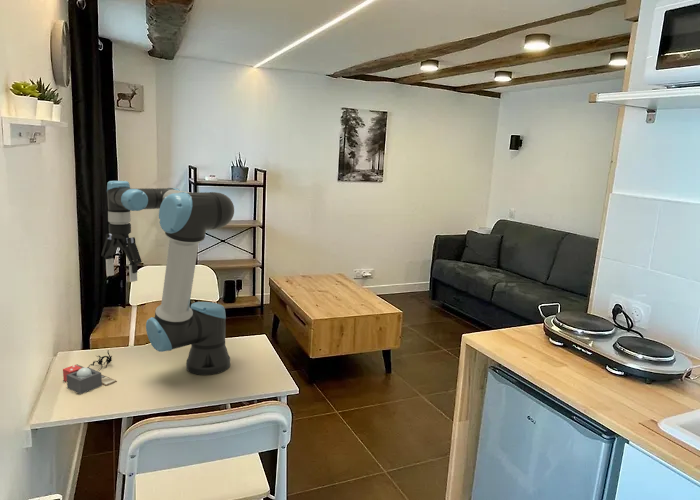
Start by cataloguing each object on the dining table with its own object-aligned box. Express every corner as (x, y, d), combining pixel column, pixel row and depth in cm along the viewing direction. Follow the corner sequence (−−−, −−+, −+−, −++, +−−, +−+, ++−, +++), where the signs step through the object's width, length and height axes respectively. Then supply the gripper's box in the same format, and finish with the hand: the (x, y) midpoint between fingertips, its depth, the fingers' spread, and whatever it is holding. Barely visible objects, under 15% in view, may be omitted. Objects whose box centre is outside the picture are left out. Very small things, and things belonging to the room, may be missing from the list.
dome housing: (101, 385, 155) (101, 372, 154) (80, 394, 149) (79, 380, 148) (88, 380, 158) (87, 367, 158) (67, 388, 152) (66, 374, 152)
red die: (82, 379, 159) (82, 366, 158) (70, 383, 155) (70, 370, 154) (75, 376, 161) (74, 363, 160) (63, 380, 157) (62, 367, 156)
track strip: (117, 381, 158) (117, 380, 158) (105, 386, 155) (105, 384, 155) (77, 365, 169) (76, 363, 169) (65, 369, 165) (65, 367, 165)
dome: (94, 381, 154) (94, 367, 153) (82, 385, 151) (81, 372, 150) (86, 377, 156) (86, 364, 155) (74, 382, 153) (73, 368, 152)
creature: (91, 376, 163) (116, 367, 168) (87, 362, 162) (112, 353, 166) (87, 368, 169) (111, 359, 174) (82, 354, 168) (107, 345, 172)
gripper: (150, 225, 177) (152, 281, 181) (107, 218, 188) (110, 271, 192) (132, 227, 170) (134, 285, 174) (89, 220, 182) (92, 274, 186)
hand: (121, 278), depth 183 cm, fingers open, 13 cm apart
